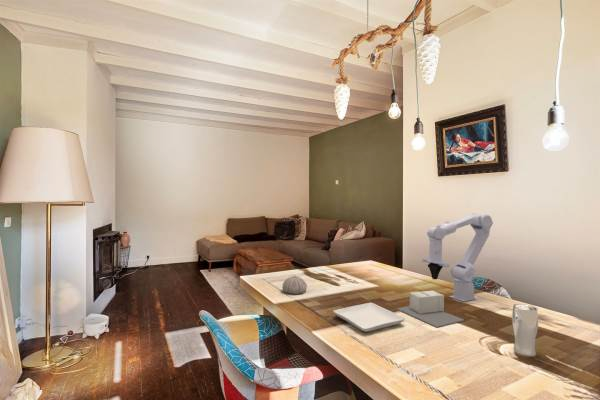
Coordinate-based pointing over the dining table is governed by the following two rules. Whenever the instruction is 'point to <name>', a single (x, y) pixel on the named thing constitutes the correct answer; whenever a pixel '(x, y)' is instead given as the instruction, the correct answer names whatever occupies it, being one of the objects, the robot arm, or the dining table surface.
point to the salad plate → (369, 316)
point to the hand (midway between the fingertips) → (434, 279)
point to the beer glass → (525, 329)
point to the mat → (432, 317)
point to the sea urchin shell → (294, 285)
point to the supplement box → (426, 302)
